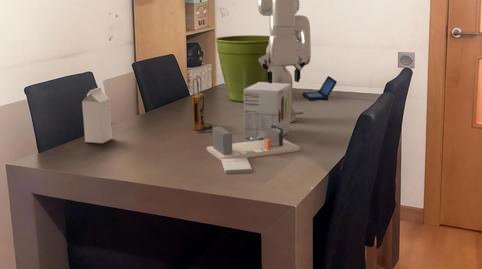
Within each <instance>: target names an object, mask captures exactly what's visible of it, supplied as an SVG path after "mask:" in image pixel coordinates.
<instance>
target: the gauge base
mask: <svg viewBox="0 0 482 269" xmlns="http://www.w3.org/2000/svg"><path fill="white" fill-rule="evenodd" d="M212 127H213V128H211V132H212V145H211V146H206V151H207V152H208V153H210V154H211V155H212V156H214V157H215V158H217V159H218V160H220V161H221V162H222V159H230V158H247V159H248V158H253V157H261V156H270V155H276V154H277V155H278V154H287V153H291V152H293V153H294V152H299V151H300V149H301V148H300V146H298V145H297V144H294V143H292V142H290V141H288V140H286V139H285V138H283V145H282V146H280V145H279V146H273V147H272V148H271V149H266V148H264V146H263V145H262V144H260V143H259V141H253V142H250V141H244V142H235V143H233V133H232V132H230V131H229V130H228V129H226V128H224V127H222V126H212Z"/></svg>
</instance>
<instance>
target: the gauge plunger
mask: <svg viewBox="0 0 482 269" xmlns="http://www.w3.org/2000/svg"><path fill="white" fill-rule="evenodd" d="M266 138H267V139H269V140H271V148H272V147H273V146H279V145H280V146H282V145H283V139H284V135H283V129H281V128H279V127H277V126H275V125H271V129H264V130H259V137H256V138H248V139H249V142H253V141H259V143H260V144H262V145H263V146H264V139H266Z"/></svg>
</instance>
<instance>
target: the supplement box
mask: <svg viewBox="0 0 482 269" xmlns="http://www.w3.org/2000/svg"><path fill="white" fill-rule="evenodd" d="M243 92H244V102H243V138H244V139H250V138H256V137H259V130H264V129H271V125H275V126H277V127H279V128H281V129H283V136H285V135H286V134H287V133H288V132H290V131H291V122H290V106H291V84H285V83H268V82H258V83H256V84H253V85H251V86H249V87H247V88H245V89H244V90H243Z"/></svg>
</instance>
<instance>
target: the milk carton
mask: <svg viewBox="0 0 482 269" xmlns="http://www.w3.org/2000/svg"><path fill="white" fill-rule="evenodd" d="M110 99H111V98H110V97H109V96H107V95H106V93H105V92H104V91H102V89H101V86H100V87H96V88H94V89H91V90H89V91H88V92H87V94H86V97H85V98H84V99H83V100H82V101H81V103H82V118H83V129H84V130H83V131H84V143H92V144H94V143H95V144H104V143H107V142H108V141H110V140H112V139H113V129H112V128H113V126H112V115H111V113H112V112H111V100H110Z"/></svg>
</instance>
